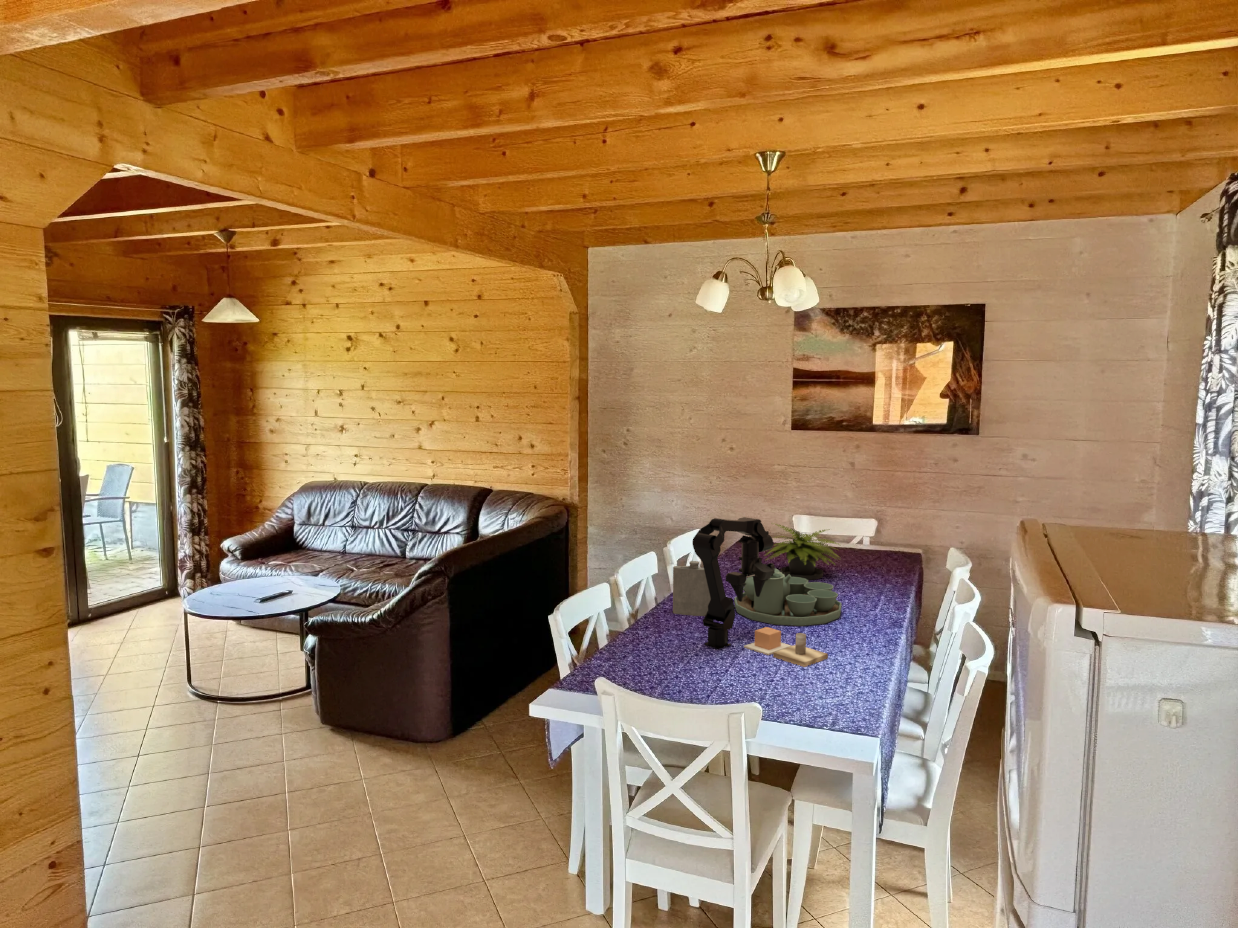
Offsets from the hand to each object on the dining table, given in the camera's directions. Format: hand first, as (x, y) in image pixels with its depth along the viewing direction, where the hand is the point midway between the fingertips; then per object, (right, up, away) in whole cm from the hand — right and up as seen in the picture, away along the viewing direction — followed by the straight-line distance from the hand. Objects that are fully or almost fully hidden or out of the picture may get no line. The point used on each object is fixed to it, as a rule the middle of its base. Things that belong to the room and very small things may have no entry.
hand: (749, 598), depth 285 cm
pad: (+4, -14, -14) cm, 20 cm away
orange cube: (+4, -13, -14) cm, 19 cm away
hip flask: (-17, -10, +24) cm, 31 cm away
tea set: (+19, -9, +29) cm, 36 cm away
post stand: (+12, -15, -23) cm, 30 cm away
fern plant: (+37, -3, +83) cm, 91 cm away
